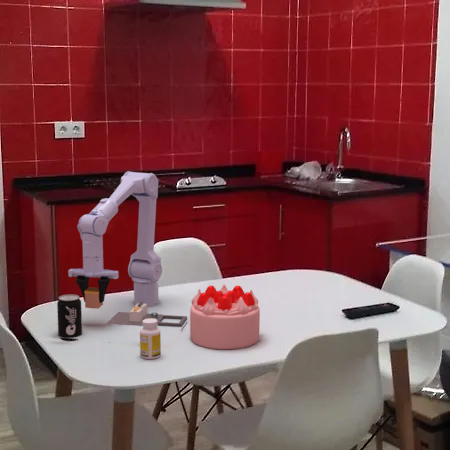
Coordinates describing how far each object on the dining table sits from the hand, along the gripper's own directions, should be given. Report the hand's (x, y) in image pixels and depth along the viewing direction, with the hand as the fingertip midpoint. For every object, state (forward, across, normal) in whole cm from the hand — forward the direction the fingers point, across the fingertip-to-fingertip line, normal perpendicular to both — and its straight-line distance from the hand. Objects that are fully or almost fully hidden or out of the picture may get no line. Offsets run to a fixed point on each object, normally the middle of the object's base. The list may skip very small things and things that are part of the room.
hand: (94, 301), depth 222 cm
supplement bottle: (+9, +22, -19) cm, 30 cm away
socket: (+8, +21, +7) cm, 24 cm away
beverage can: (+9, -4, -9) cm, 13 cm away
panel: (+8, +10, +8) cm, 15 cm away
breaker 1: (+7, +10, +12) cm, 18 cm away
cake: (+9, +39, -1) cm, 40 cm away
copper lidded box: (+2, 0, 0) cm, 2 cm away
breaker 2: (+7, +10, +7) cm, 15 cm away
